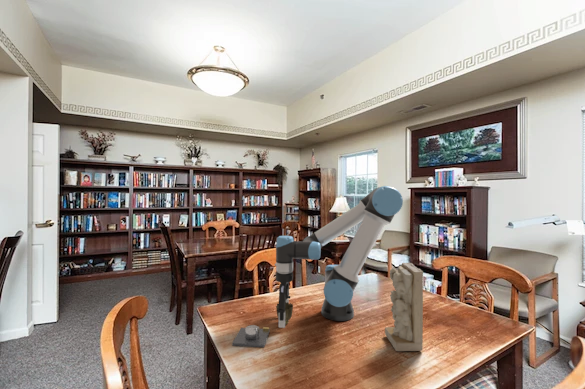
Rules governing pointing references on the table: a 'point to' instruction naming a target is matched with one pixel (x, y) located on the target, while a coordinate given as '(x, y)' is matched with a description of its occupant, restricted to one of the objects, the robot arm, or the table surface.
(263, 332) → the grey plate with knob
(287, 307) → the scalloped lamp shade
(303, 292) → the table surface
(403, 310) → the sculpture
